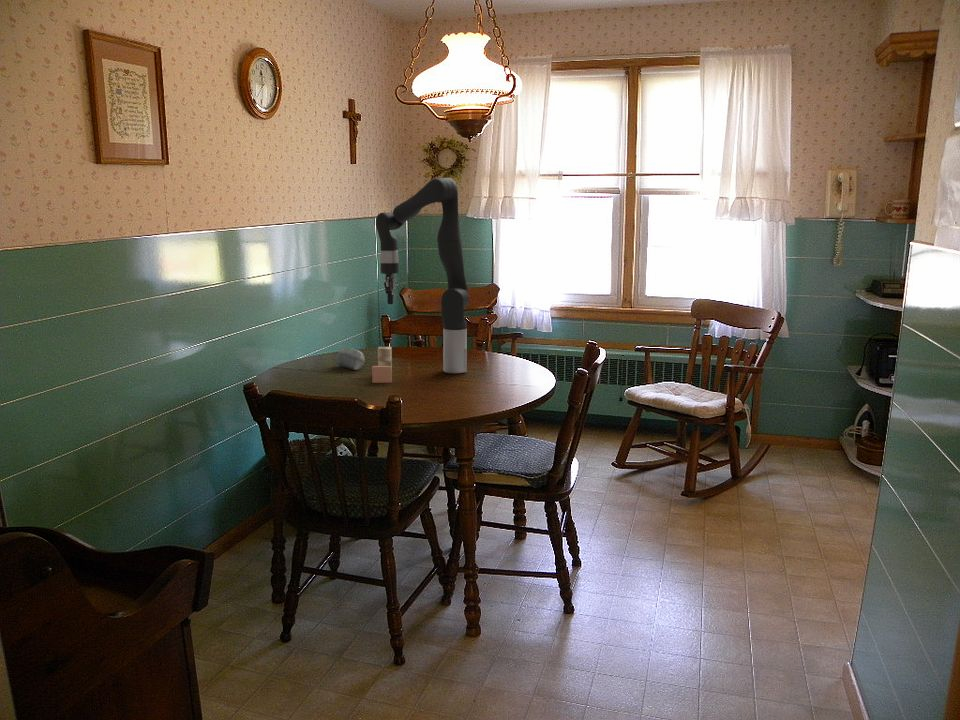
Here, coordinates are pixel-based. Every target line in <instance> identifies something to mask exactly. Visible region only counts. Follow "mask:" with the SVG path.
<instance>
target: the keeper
mask: <svg viewBox="0 0 960 720" xmlns="http://www.w3.org/2000/svg"><path fill="white" fill-rule="evenodd" d="M392 360H393V359H392V346H378V349H377V363H378V364H377V366H392V367H393V363H392V362H393V361H392Z"/></svg>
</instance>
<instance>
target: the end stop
mask: <svg viewBox="0 0 960 720" xmlns="http://www.w3.org/2000/svg"><path fill="white" fill-rule="evenodd" d="M371 368H372V369H371V370H372V371H371V375H372V377H371V379H372V381H371V382H372V383H375V384H376V383H378V384H379V383H380V384H381V383H383V384H389V383H390V384H392V383H393V379H392V377H393V374H392V373H393V369H392V368H393V365H392V366H378V365H373V366H372V367H371Z"/></svg>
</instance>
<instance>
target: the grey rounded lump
mask: <svg viewBox="0 0 960 720" xmlns="http://www.w3.org/2000/svg"><path fill="white" fill-rule="evenodd" d="M335 358H336V359H335V360H336V363H337V365H338V366H339V367H341V368H347V369H350V370H353V371H359V370H360V369H362V367H363V366H364V364H365V355H364V353H363V352H362V351H360V350H358V349H355V348H352V347H351V348H350V347H343V348H342V347H341V348H340V349H339V350H338V352H337V354H336V356H335Z"/></svg>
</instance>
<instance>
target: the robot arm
mask: <svg viewBox="0 0 960 720" xmlns="http://www.w3.org/2000/svg"><path fill="white" fill-rule="evenodd" d="M458 192H459V191H458V186H457V182H455V180H454V179H453V178H450V177H436V178H432V179H431V180H429V181H428V182H427V183H426V184H425V185H424V186H423V187H422V188H421V189H420V190H418V192H416V193H415V194H414V195H412V196H410V197H409V198H408V199H406V200H404V201H403V202H401V203H399V204H397V206H395V207H394V208H393V210H392V212H380V213H378V214H377V216H376V219H375V227H376V232H377V235H378V237H379V241H380V242H379V243H380V244H379V245H380V255H379V264H380V267H379V268H380V274H382V275H383V274H384V275H385V278H384V283H383V285H384V291H385V294H386V296H387V299H386V300H387V305H393V304H394V294H395V292H396V284H397V283H396V277H395V275H396V274H399V273H400V262H399V250H398V249H399V248H398V245H399V244H398V237H396V236H394V235H392V234H391V231H396V230H398V229H400V228H401V227H403V225H405V223H406V222H407V221H409V220H411V219H413V218H414V217H416V216H417V215H418V214H420V212H421V211H422V209H423V208H424V207H426V206H429V205H432V204H434V203H439V204H441V206H442V207H441V210H442V218H441V222H440V225H439V229H438V232H437V237H436V238H437V239H436V240H437V248H438V249H437V250H438V255H439V259H440V262H441V264H442V267H443V269H444V271H445V274H446V279H447V289H446V290H444V292H443V293H442V295H441V299H440V306H441V307H440V310H441V321H442V324H443V327H442V328H443V330H442V331H443V333H442V334H443V335H442V336H443V337H442V338H443V342H442V343H443V344H442V345H443V348H442V349H443V352H442V353H443V355H442V356H443V357H442V358H443V360H442V361H443V363H442V364H443V367H442V368H443V372H444V373H446V374H447V373H448V374H462V373H467V371H468V369H467V368H468V365H467V364H468V363H467V361H468V359H467V358H468V357H467V356H468V353H467V351H468V350H467V349H468V348H467V347H468V346H467V345H468V344H467V343H468V342H467V338H468V336H467V335H468V333H467V331H468V323H467V321H466V319H465V309H466V307H467V306H468V304H469V302H470V294H469V290H468V285H467V280H466V275H465V268H464V267H465V265H464V255H463V245H462V235H461V231H460V230H461V228H460V217H459V193H458Z"/></svg>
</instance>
